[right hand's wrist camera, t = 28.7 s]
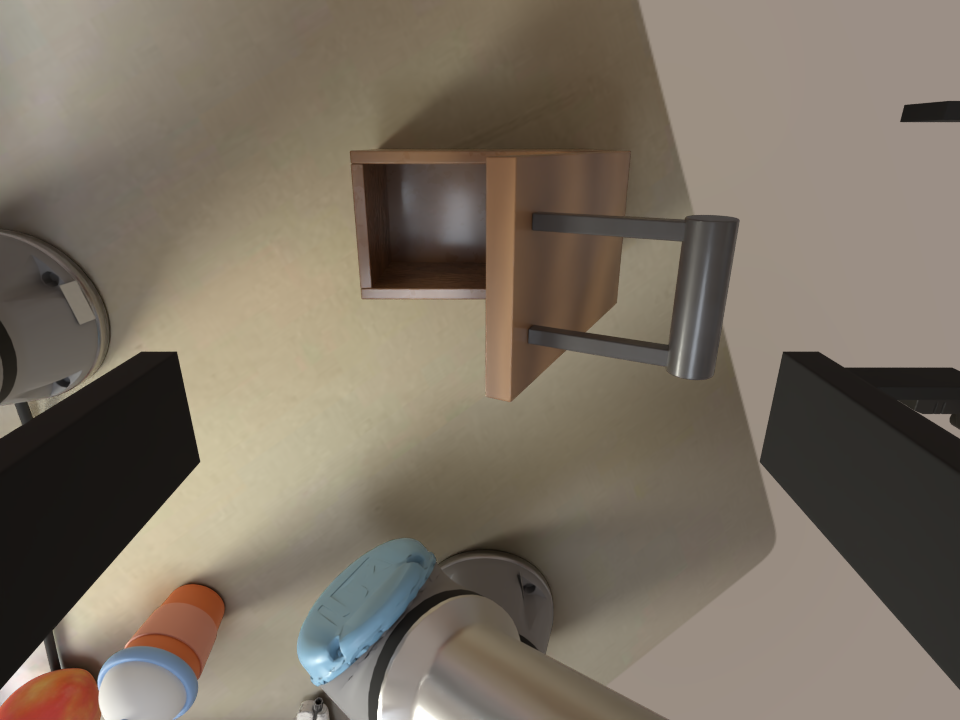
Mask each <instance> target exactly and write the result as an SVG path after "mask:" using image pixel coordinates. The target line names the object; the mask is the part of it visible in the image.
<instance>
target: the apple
mask: <svg viewBox="0 0 960 720" xmlns="http://www.w3.org/2000/svg"><path fill="white" fill-rule="evenodd" d="M100 717H101V710H100V706H99V689H98V685H97V683H96V681H95V679H94V678H93V676H92V675H91V674H90V673H89V672H88V671H86V670H84V669H79V668H69V669H60V670H56V671H52V672H49V673H46V674H43V675H41V676H38V677H36V678H34V679H32V680H30V681H29V682H27V683H26V684H24V685H23V686H21V687H20V688H19V689H17V690H16V691H15V692H14V693H13V694H12V695H11V696H10V697H9V698H8V699H7V700H6V701H5V702H4V703H3V705H2V706H1V707H0V720H100Z"/></svg>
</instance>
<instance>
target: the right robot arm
mask: <svg viewBox="0 0 960 720" xmlns="http://www.w3.org/2000/svg"><path fill="white" fill-rule="evenodd" d="M109 336H110V334H109V322H108V317H107V313H106V310H105V307H104V304H103V302H102V299H101V297H100V295H99V293H98V291H97V290H96V288H95V286H94V285H93V283H92V282H91V280H90V279H89V278H88V276H87V275H86V274H85V273H84V272H83V271H82V269H81V268H80V267H79V266H78V265H77V264H76V263H75V262H74V261H72V260H71V259H70V258H69V257H68V256H66V255H65V254H64V253H63V252H61V251H60V250H58V249H57V248H55V247H54V246H52V245H50V244H48V243H47V242H45V241H43V240H40V239H38V238H36V237H33V236H31V235H28V234H24V233H21V232H17V231H12V230H4V229H0V406H3V405H9V404H15V406H16V409H17V412H18V415H19V417H20V420H21V423H22V426H20V427H19V428H17V429H15V430H14V431H12V432H10V433H9V434H7V435H6V436H4V437H2V438H1V439H0V689H1V688H2V687H3V686H4V685H5V684H6V683H7V681H8V680H9V679H10V678H11V677H12V676H13V675H14V673H15V672H16V671H17V670H18V669H19V668H20V667H21V665H22V664H23V663H24V662H25V661H26V660H27V659H28V658H29V656H30V655H31V654H32V653H33V652H34V651H35V650H36V648H37V647H38V646H39V645H40V644H41V643H42V642H43V640H44V644H45V648H46V652H47V657H48V661H49V665H50V669H51V672H52V671H56V670H60V669H61V667H60V663H59V658H58V654H57V650H56V645H55V640H54V636H53V631H52V630H53V629H54V628H55V627H56V626H57V624H58V623H59V622H60V621H61V620H62V619H63V618H64V616H65V615H66V614H67V613H68V612H69V611H70V610H71V609H72V607H73V606H74V605H75V604H76V603H77V602H78V601H79V599H80V598H81V597H82V596H83V595H84V594H85V593H86V591H87V590H88V589H89V588H90V587H91V586H92V585H93V583H94V582H95V581H96V580H97V579H98V578H99V577H100V575H101V574H102V573H103V572H104V571H105V570H106V569H107V568H108V566H109V565H110V564H111V563H112V562H113V561H114V560H115V558H116V557H117V556H118V555H119V554H120V553H121V552H122V550H123V549H124V548H125V547H126V546H127V545H128V544H129V542H130V541H131V540H132V539H133V538H134V537H135V536H136V534H137V533H138V532H139V531H140V530H141V529H142V528H143V526H144V525H145V524H146V523H147V522H148V521H149V520H150V519H151V517H152V516H153V515H154V514H155V513H156V512H157V511H158V509H159V508H160V507H161V506H162V505H163V504H164V503H165V501H166V500H167V499H168V498H169V497H170V496H171V495H172V493H173V492H174V491H175V490H176V489H177V488H178V487H179V485H180V484H181V483H182V482H183V481H184V480H185V479H186V478H187V476H188V475H189V474H190V473H191V472H192V471H193V470H194V468H195V467H196V466H197V465H198V464H199V463H200V458H199V454H198V449H197V444H196V439H195V435H194V430H193V425H192V421H191V416H190V411H189V406H188V402H187V397H186V392H185V388H184V383H183V378H182V373H181V369H180V364H179V359H178V355H177V352H140V353H139V354H137V355H135V356H134V357H132V358H131V359H129V360H127V361H126V362H124V363H122V364H121V365H119V366H118V367H116V368H114V369H113V370H111V371H109V372H108V373H106V374H105V375H103V376H101V377H100V378H98V379H96V380H95V381H93V382H92V383H90V384H88V385H87V386H85V387H83V388H82V389H80V390H79V391H77V392H75V393H74V394H72V395H71V396H69V397H67V398H66V399H64V400H62V401H61V402H59V403H58V404H56V405H54V406H53V407H51V408H49V409H48V410H46V411H45V412H43V413H41V414H40V415H38V416H36V417H35V418H33V417H32V414H31V411H30V408H29V405H28V403H27V401H33V400H39V399H45V398H49V397H53V396H56V395H60V394H62V393H65V392H67V391H69V390H71V389H73V388H74V387H76V386H78V385H79V384H81V383H83V382H84V381H86V380H87V379H89V378H90V377H91V376H92V375H93V374H94V373H95V372H96V371H97V370H98V368H99V367H100V365H101V364H102V362H103V360H104V358H105V356H106V353H107V350H108V345H109ZM760 463H761V464H762V465H763V466H764V467H765V468H766V470H767V471H768V472H769V473H770V474H771V475H772V476H773V478H774V479H775V480H776V481H777V482H778V483H779V484H780V485H781V487H782V488H783V489H784V490H785V491H786V492H787V493H788V495H789V496H790V497H791V498H792V499H793V500H794V501H795V503H796V504H797V505H798V506H799V507H800V508H801V509H802V511H803V512H804V513H805V514H806V515H807V516H808V517H809V519H810V520H811V521H812V522H813V523H814V524H815V525H816V526H817V528H818V529H819V530H820V531H821V532H822V533H823V534H824V536H825V537H826V538H827V539H828V540H829V541H830V542H831V544H832V545H833V546H834V547H835V548H836V549H837V550H838V552H839V553H840V554H841V555H842V556H843V557H844V558H845V559H846V561H847V562H848V563H849V564H850V565H851V566H852V568H853V569H854V570H855V571H856V572H857V573H858V574H859V575H860V577H861V578H862V579H863V580H864V581H865V582H866V583H867V585H868V586H869V587H870V588H871V589H872V590H873V591H874V593H875V594H876V595H877V596H878V597H879V598H880V599H881V600H882V602H883V603H884V604H885V605H886V606H887V607H888V609H889V610H890V611H891V612H892V613H893V614H894V615H895V616H896V618H897V619H898V620H899V621H900V622H901V623H902V624H903V626H904V627H905V628H906V629H907V630H908V631H909V632H910V633H911V635H912V636H913V637H914V638H915V639H916V640H917V642H918V643H919V644H920V645H921V646H922V647H923V648H924V650H925V651H926V652H927V653H928V654H929V655H930V656H931V657H932V659H933V660H934V661H935V662H936V663H937V664H938V665H939V667H940V668H941V669H942V670H943V671H944V672H945V673H946V675H947V676H948V677H949V678H950V679H951V680H952V681H953V683H954V684H955V685H956V686H957V687H958V688H959V689H960V439H959V438H958V437H956V436H954V435H953V434H951V433H950V432H948V431H946V430H945V429H943V428H941V427H940V426H938V425H936V424H935V423H933V422H932V421H930V420H928V419H927V418H925V417H924V416H922V415H920V414H919V413H917V412H915V411H914V410H912V409H911V408H909V407H907V406H906V405H904V404H902V403H901V402H899V401H898V400H896V399H894V398H893V397H891V396H889V395H888V394H886V393H885V392H883V391H881V390H880V389H878V388H877V387H875V386H873V385H872V384H870V383H868V382H867V381H865V380H864V379H862V378H860V377H859V376H857V375H855V374H854V373H852V372H851V371H849V370H847V369H846V368H844V367H842V366H841V365H839V364H837V363H836V362H834V361H833V360H831V359H829V358H828V357H826V356H825V355H823V354H821V353H820V352H783V355H782V359H781V364H780V369H779V374H778V378H777V383H776V388H775V393H774V397H773V402H772V407H771V411H770V416H769V421H768V425H767V430H766V435H765V439H764V444H763V449H762V454H761V458H760Z"/></svg>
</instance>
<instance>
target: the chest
mask: <svg viewBox="0 0 960 720" xmlns="http://www.w3.org/2000/svg"><path fill="white" fill-rule="evenodd" d="M600 151H611V150H593V149H371V150H354V151H350V159H351V173H352V185H353V198H354V211H355V223H356V236H357V248H358V261H359V274H360V286H361V298H362V299H486V162H487V157H488V156H509V155H531V154H554V153H577V152H600Z"/></svg>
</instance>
